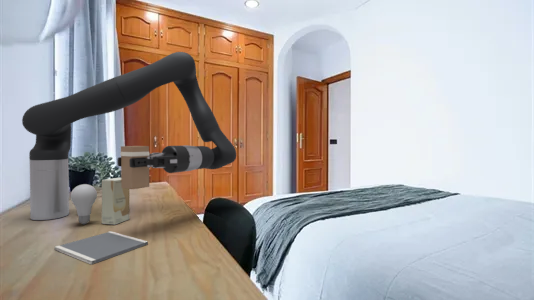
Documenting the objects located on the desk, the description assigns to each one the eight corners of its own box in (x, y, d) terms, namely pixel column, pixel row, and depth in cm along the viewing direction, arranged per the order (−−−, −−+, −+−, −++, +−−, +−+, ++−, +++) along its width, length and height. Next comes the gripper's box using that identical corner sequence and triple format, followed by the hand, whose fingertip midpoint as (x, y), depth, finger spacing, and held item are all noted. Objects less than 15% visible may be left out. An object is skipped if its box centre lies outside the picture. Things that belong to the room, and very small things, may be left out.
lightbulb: (65, 226, 76) (64, 185, 75) (87, 220, 81) (87, 182, 81) (80, 228, 73) (80, 186, 73) (102, 222, 79) (102, 183, 79)
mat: (54, 249, 59) (54, 246, 59) (110, 233, 70) (110, 231, 69) (91, 264, 52) (91, 261, 52) (147, 244, 62) (147, 241, 62)
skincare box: (114, 225, 76) (114, 180, 76) (101, 224, 77) (100, 179, 77) (130, 219, 83) (130, 177, 82) (117, 218, 84) (117, 177, 83)
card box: (121, 187, 68) (120, 146, 68) (138, 185, 72) (138, 146, 72) (132, 189, 66) (131, 146, 65) (149, 186, 70) (149, 146, 69)
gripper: (165, 145, 85) (107, 146, 70) (199, 145, 77) (142, 146, 62) (166, 170, 85) (108, 176, 70) (199, 173, 77) (142, 180, 63)
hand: (124, 162), depth 66 cm, fingers closed on card box, 4 cm apart
